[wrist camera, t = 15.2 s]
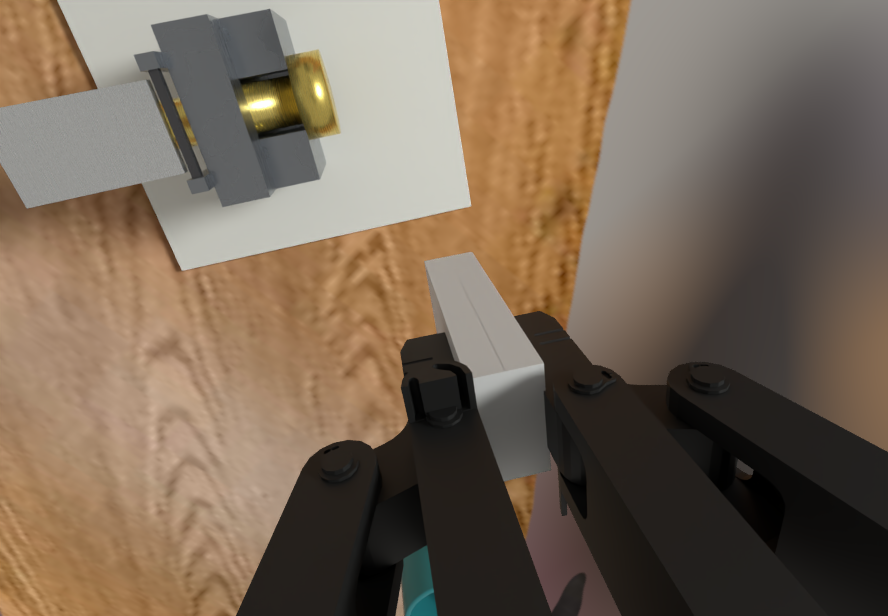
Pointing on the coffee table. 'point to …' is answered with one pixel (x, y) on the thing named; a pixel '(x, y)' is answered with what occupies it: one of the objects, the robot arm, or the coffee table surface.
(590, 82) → the coffee table surface
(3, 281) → the coffee table surface
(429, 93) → the mat
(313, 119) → the pin
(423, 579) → the cup
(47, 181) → the grey flat brushed plate
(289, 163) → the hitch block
